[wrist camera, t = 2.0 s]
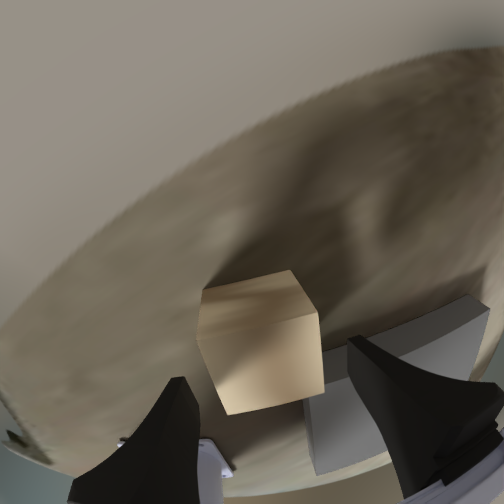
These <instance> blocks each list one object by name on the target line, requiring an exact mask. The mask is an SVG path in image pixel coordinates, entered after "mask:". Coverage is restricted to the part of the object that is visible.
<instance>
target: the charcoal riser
mask: <svg viewBox="0 0 504 504" xmlns="http://www.w3.org/2000/svg"><path fill="white" fill-rule="evenodd" d="M489 312H490V308H489V307H487V306H486V305H484V304H483V303H481V302H480V301H478V300H476V299H475V298H473V297H472V296H470V295H469V294H467V295H465V296H463V297H461V298H459V299H457V300H455V301H453V302H451V303H449V304H447V305H445V306H443V307H441V308H439V309H437V310H434V311H432V312H430V313H428V314H425V315H423V316H421V317H419V318H416V319H414V320H412V321H409V322H407V323H404V324H402V325H399V326H397V327H394V328H392V329H389V330H387V331H384V332H381V333H379V334H376V335H373V336H370V337H368V338H366V339H367V340H369V341H370V342H372V343H374V344H375V345H377V346H378V347H380V348H382V349H383V350H385V351H387V352H388V353H390V354H392V355H394V356H395V357H397V358H399V359H401V360H403V361H405V362H407V363H409V364H411V365H413V366H416V367H418V368H421V369H423V370H426V371H429V372H431V373H435V374H438V375H441V376H445V377H449V378H453V379H459V380H465V381H468V379H469V377H470V374H471V372H472V369H473V366H474V363H475V360H476V358H477V355H478V352H479V348H480V345H481V342H482V339H483V335H484V332H485V328H486V324H487V320H488V316H489ZM322 362H323V376H324V391H325V392H324V393H321V394H318V395H315V396H311V397H308V398H304V399H302V401H303V408H304V415H305V423H306V430H307V438H308V445H309V453H310V457H311V460H312V463H313V466H314V470H315V473H316V476H319V475H322V474H326V473H329V472H332V471H335V470H338V469H341V468H344V467H347V466H350V465H353V464H355V463H358V462H361V461H363V460H366V459H368V458H371V457H373V456H376V455H378V454H380V453H383V452H385V451H387V450H388V449H387V447H386V444H385V442H384V440H383V437H382V435H381V433H380V430H379V429H378V427H377V425H376V423H375V421H374V420H373V418H372V416H371V415H370V413H369V412H368V410H367V408H366V407H365V405H364V403H363V402H362V400H361V398H360V397H359V395H358V394H357V392H356V390H355V388H354V386H353V384H352V382H351V379H350V377H349V374H348V372H347V345H344V346H341V347H338V348H335V349H331V350H328V351H325V352H322Z"/></svg>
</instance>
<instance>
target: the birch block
mask: <svg viewBox="0 0 504 504" xmlns="http://www.w3.org/2000/svg"><path fill="white" fill-rule="evenodd" d="M196 341H197V344H198V347H199V349H200V352H201V354H202V357H203V359H204V362H205V364H206V367H207V369H208V371H209V374H210V376H211V379H212V381H213V383H214V386H215V388H216V390H217V393H218V395H219V397H220V399H221V402H222V404H223V406H224V408H225V411H226V413H227V415H232V414H237V413H243V412H248V411H253V410H258V409H263V408H268V407H272V406H277V405H281V404H285V403H289V402H293V401H297V400H300V399H304V398H308V397H311V396H315V395H318V394H321V393H324V392H325V391H324V376H323V362H322V350H321V339H320V328H319V318H318V312H317V310H316V308H315V307H314V305H313V304H312V302H311V301H310V299H309V298H308V296H307V295H306V293H305V292H304V290H303V288H302V287H301V285H300V284H299V282H298V281H297V279H296V278H295V276H294V275H293V273H292V272H291V270H286V271H282V272H278V273H274V274H270V275H265V276H261V277H257V278H252V279H248V280H244V281H239V282H235V283H231V284H226V285H222V286H217V287H213V288H208V289H204V290H203V291H202V298H201V306H200V313H199V321H198V329H197V337H196Z"/></svg>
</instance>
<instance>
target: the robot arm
mask: <svg viewBox="0 0 504 504" xmlns="http://www.w3.org/2000/svg"><path fill="white" fill-rule="evenodd" d="M347 372H348V374H349V377H350V379H351V382H352V384H353V386H354V388H355V390H356V392H357V394H358V395H359V397H360V398H361V400H362V402H363V403H364V405H365V407H366V408H367V410H368V412H369V413H370V415H371V416H372V418H373V420H374V421H375V423H376V425H377V427H378V429H379V430H380V433H381V435H382V437H383V440H384V442H385V444H386V447H387V449H388V452H389V454H390V457H391V459H392V462H393V465H394V467H395V470H396V473H397V476H398V479H399V483H400V486H401V490H402V493H403V497H404V500H403V501H400V502H398V503H396V504H490V503H491V502H492V501H493V500H494V499H495V498H497V497H498V496H499V495H500V494H501V493H502V492H503V491H504V427H503V428H502V430H501V431H500V432H498V430H496V428H497V427H498V424H497V422H496V421H495V419H496V417H497V416H498V414H499V412H500V411H501V409H502V408H503V406H504V392H503V390H502V389H501V388H500V387H498V385H497V384H496V383H490V382H472V381H465V380H459V379H453V378H449V377H445V376H441V375H438V374H435V373H431V372H429V371H426V370H423V369H421V368H418V367H416V366H413V365H411V364H409V363H407V362H405V361H403V360H401V359H399V358H397V357H395V356H394V355H392V354H390V353H388V352H387V351H385V350H383V349H382V348H380V347H378V346H377V345H375V344H374V343H372V342H370V341H369V340H367V339H366V338H364V337H362V336H361V335H358V336H355V337H352V338H349V339H347ZM199 435H200V413H199V405H198V403H197V401H196V399H195V397H194V395H193V393H192V391H191V389H190V387H189V385H188V383H187V381H186V379H185V377H184V376H182V377H174V378H171V379H170V381H169V382H168V384H167V385H166V387H165V389H164V390H163V392H162V393H161V395H160V397H159V398H158V400H157V401H156V403H155V404H154V406H153V408H152V409H151V411H150V412H149V414H148V415H147V416H146V418H145V419H144V420H143V422H142V423H141V424H140V426H139V427H138V428H137V430H136V431H135V432H134V433H133V434H132V435H131V436H130V438H129V439H128V440H127V441H126V442H123V441H120V442H118V444H117V446H118V447H119V449H117V450H116V451H115V452H114V453H113V454H112V455H111V456H110V457H108V458H107V459H106V460H104V461H103V462H102V463H100V464H99V465H98V466H96V467H95V468H93V469H92V470H90V471H88V472H87V473H85V474H83V475H81V476H79V477H78V478H76V479H74V480H73V483H72V486H71V490H70V493H69V496H68V500H67V503H68V504H223V487H222V478H227V477H232V476H234V474H233V471H232V470H231V468H230V467H229V465H228V464H227V463H226V461H225V459H224V458H223V456H222V455H221V453H220V452H219V450H218V449H217V447H216V445H215V444H214V442H213V441H212V440H210V439H199Z"/></svg>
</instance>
